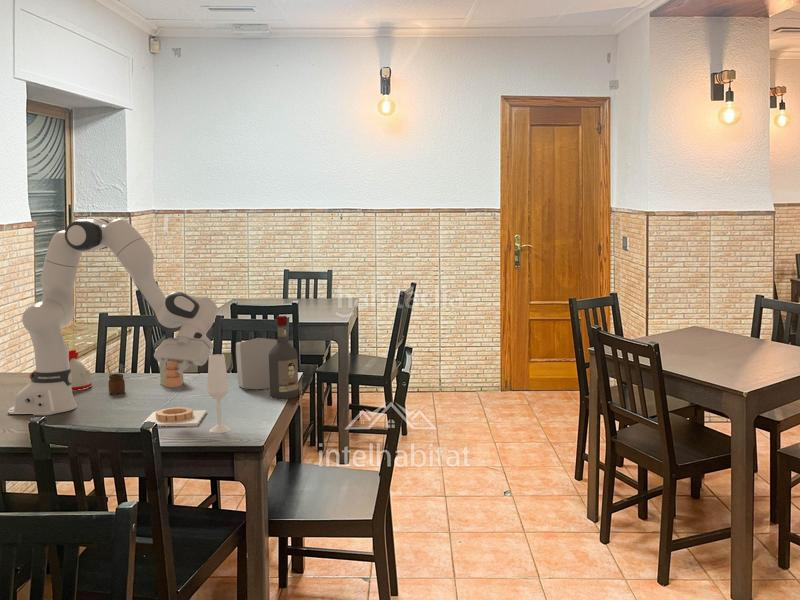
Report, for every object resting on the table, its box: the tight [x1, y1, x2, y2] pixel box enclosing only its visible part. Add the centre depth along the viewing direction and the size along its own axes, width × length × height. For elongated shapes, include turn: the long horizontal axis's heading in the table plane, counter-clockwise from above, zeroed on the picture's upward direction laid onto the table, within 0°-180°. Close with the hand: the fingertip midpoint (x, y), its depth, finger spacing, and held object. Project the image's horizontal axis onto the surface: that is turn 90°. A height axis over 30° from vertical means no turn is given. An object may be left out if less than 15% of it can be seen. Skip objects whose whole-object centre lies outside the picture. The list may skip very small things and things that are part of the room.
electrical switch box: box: [235, 337, 278, 390], centre depth 350 cm, size 15×15×20 cm
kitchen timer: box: [68, 349, 93, 390], centre depth 352 cm, size 14×14×15 cm
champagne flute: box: [206, 354, 231, 434], centre depth 282 cm, size 7×7×24 cm
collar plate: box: [140, 406, 207, 428], centre depth 298 cm, size 18×18×3 cm
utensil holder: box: [106, 362, 126, 395], centre depth 341 cm, size 6×6×12 cm
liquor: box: [269, 315, 299, 400], centre depth 329 cm, size 9×9×30 cm
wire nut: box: [164, 361, 182, 388], centre depth 296 cm, size 5×5×8 cm
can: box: [159, 362, 185, 387], centre depth 357 cm, size 9×9×12 cm
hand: (171, 372), depth 295 cm, fingers closed on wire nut, 4 cm apart
